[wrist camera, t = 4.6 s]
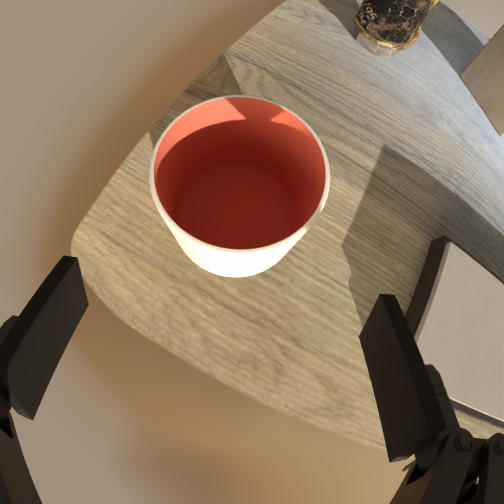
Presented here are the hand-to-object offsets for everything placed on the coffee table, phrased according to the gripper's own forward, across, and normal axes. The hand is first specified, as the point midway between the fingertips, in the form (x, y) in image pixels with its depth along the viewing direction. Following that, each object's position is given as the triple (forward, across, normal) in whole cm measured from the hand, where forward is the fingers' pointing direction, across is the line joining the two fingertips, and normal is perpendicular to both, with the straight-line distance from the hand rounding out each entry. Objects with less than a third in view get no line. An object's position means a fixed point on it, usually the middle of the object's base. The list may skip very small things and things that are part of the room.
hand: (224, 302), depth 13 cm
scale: (+4, +34, -13) cm, 37 cm away
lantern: (+34, +16, +17) cm, 41 cm away
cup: (+14, 0, -3) cm, 14 cm away
